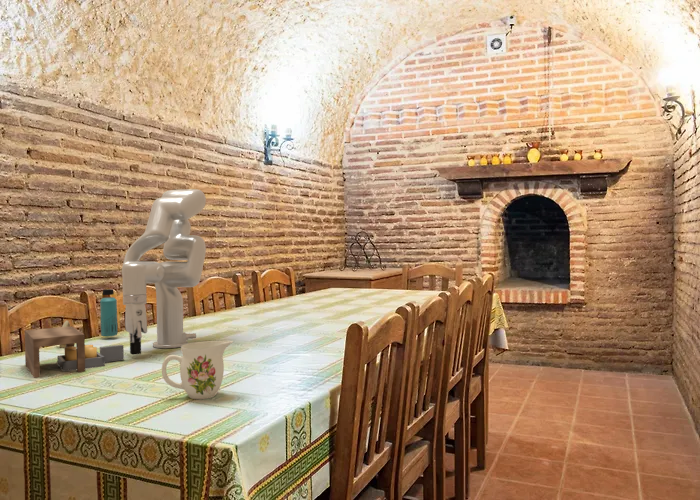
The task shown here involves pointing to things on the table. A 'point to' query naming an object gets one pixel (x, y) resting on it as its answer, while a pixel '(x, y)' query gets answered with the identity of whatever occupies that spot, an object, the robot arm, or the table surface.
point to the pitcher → (199, 368)
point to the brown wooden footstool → (50, 338)
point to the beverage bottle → (108, 314)
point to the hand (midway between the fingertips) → (135, 353)
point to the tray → (94, 361)
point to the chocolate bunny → (66, 324)
